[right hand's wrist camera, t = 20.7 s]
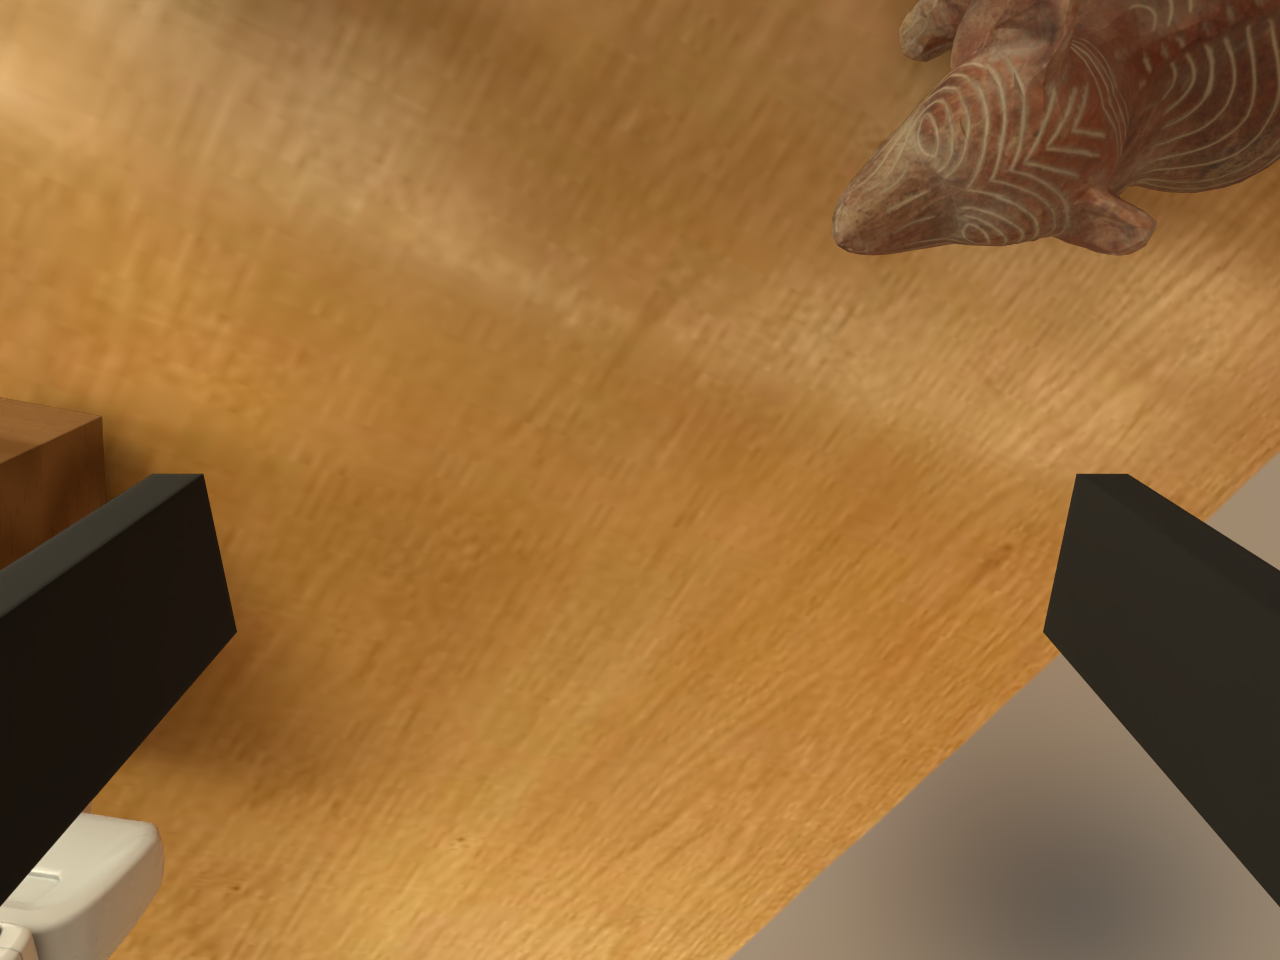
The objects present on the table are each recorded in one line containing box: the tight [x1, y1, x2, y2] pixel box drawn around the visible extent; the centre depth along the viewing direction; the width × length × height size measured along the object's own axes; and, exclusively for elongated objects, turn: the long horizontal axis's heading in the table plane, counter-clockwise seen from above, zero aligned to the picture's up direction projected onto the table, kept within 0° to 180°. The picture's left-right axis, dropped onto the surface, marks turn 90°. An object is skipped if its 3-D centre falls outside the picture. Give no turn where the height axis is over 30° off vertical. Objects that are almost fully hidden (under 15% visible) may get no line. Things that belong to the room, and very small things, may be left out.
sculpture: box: [832, 0, 1280, 255], centre depth 30 cm, size 14×25×15 cm, turn 123°
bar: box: [0, 397, 106, 571], centre depth 42 cm, size 23×5×8 cm, turn 168°
